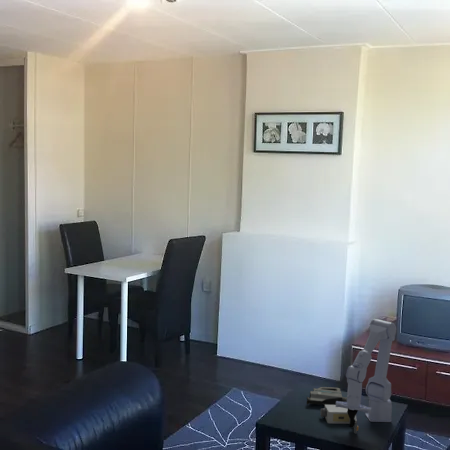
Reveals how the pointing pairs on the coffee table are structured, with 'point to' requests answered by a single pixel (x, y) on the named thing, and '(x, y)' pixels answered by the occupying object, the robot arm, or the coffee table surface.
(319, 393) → the camcorder
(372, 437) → the coffee table surface
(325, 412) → the camera case
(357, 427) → the side door
